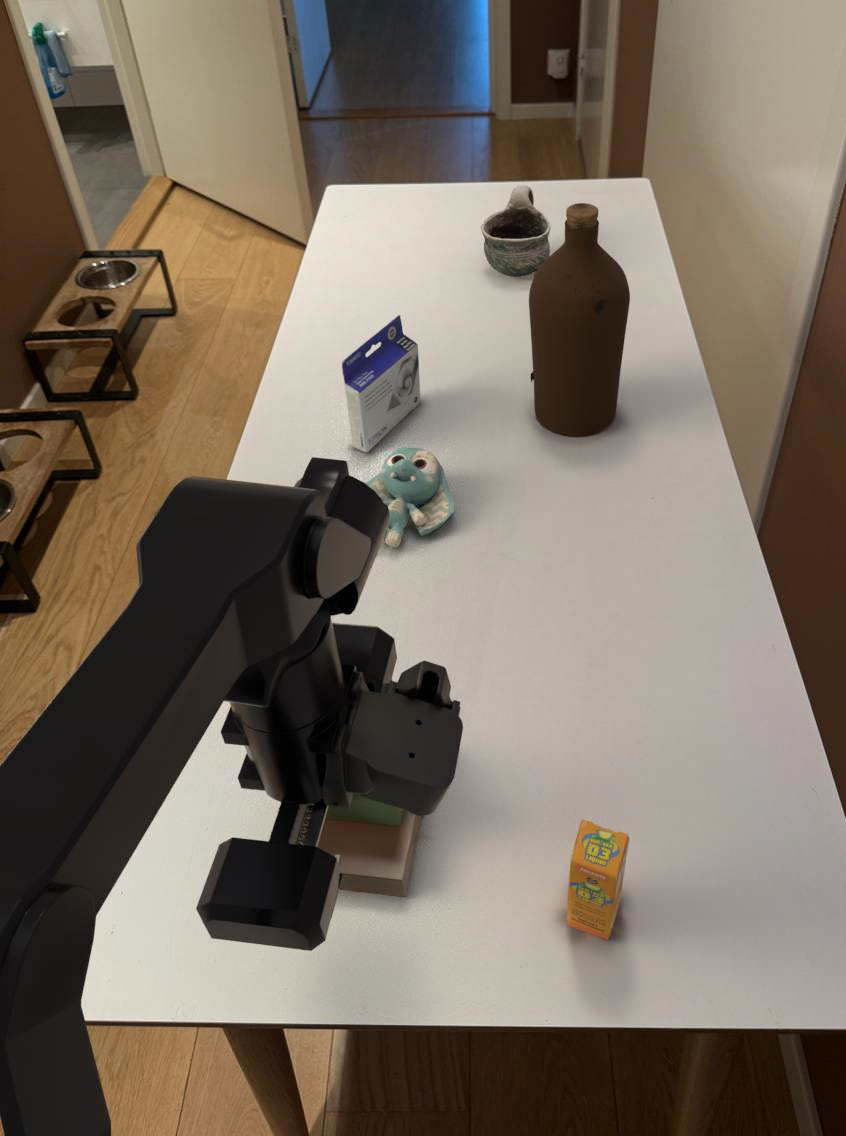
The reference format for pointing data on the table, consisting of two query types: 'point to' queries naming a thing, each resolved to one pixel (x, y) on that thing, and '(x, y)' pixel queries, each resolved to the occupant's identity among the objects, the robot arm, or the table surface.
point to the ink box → (381, 385)
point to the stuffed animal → (413, 492)
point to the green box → (366, 812)
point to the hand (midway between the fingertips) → (330, 843)
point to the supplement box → (596, 878)
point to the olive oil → (578, 330)
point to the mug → (517, 236)
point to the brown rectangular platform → (372, 853)
